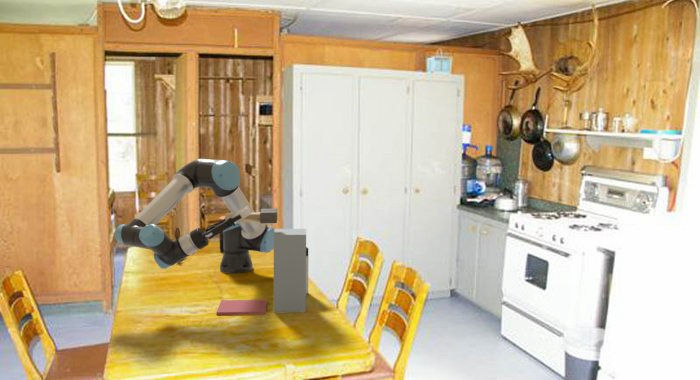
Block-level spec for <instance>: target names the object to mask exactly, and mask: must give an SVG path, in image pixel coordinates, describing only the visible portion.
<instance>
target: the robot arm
mask: <svg viewBox="0 0 700 380" xmlns="http://www.w3.org/2000/svg"><path fill="white" fill-rule="evenodd" d="M240 185H241V170H240V168H239V166H238V165H237V164H236V163H235V162H233V161H231V160H227V159H213V158H212V159H209V158H198V159H195V160H192V161H191V162H189V163H187V164H185V165H184V166H182V167H181V168H180V169H179V170H177V171H176V173H175V174H174V175H173V176H172V180H171V181H170V182H169V183H168V184H167V185H166V186H165V187H164V188H162V190H161V191H160V192H159V193H158V194H157V195H156V196H155V197H154V198H153V199H152V200H151V201H150V202H149V203H148V204H147V205H146V206H145V207H144V208H143V209H142V210H141V211H140V212H139V213H138V214H137V215H136V216H135V217H134V218H133V219H132V220H131V221H130V222H129V223H123V224H119V225H118V226H117V227H116V229H115V232H114V238H115V240H116V242H117V243H119V244H121V245H124V246H126V247H127V246H130V247H136V248H139V249H140V248H141V249H147V250H150V251H152V252H153V259H154V261H155V264H157V266H158V267H159V268H160V269H164V270H166V269H168V268H170V267H172V266H174V265H176V264H177V263H179V262H181V261H183V260H182V259H184V258H186V259H187V257H189V256H191V255H192V256H195V253H196V252H198V251H199V250H202V249H203V248H206V247H207V246H209V242H210V241H209V240H212V239H214V238H215V236H217V235H220V232H222V231H223V247H224V252H223V255H222V257H221V262H220V264H219V270H220V272H221V273H226V274H235V275H236V274H244V273H248V272H250V271H252V270H253V269H254V267H253V265H254V263H253V261H252V257H251V255H250V251H252V252H258V253H262V254H264V253H266V254H267V253H270V252H272V251H274V230H275V229H276V228H274V227H269V226H268V225H267V223H260V222H238V221H240V220H242V219H244V218H245V217H247V216H249V215H251V214H250V213H256V212H255V210H254V209H253V208H252V206H251V203H250V202H249V200H248V199H247V198H246V195H245V194H244V192H243V190H242V189H241V188H240ZM201 187H202V188H209V189H210V190H211V191H212V193H213V195H215V196H216V197H217V198H220V199H222V201H223V202H224V204H225V205H226V207H227V209H228V210H229V213H237V214H236V215H234V216H232V218H229V219H228V220H226V221H225V219H223V220H221V221H220V220H219V221H218V222H215V223H213V224H211V225H209V226H207V227H206V228H205V229H204V230H202V229H201V227H197V228H194V229H193V230H191V231H190V232H187V233H186V234H184V235H182V236H180V238H179V239H177V240H176V239H175V240H173V239H172V238H171V237H169V236H168V234H166V233H165V231H164V230H163V229H162V228H161V227H159V226H158V225H157V224H159V222H160V221H161V220H162V219H163V218H164V217H165V216H166V215H167V214H168V213H169V212H170V211H171V210H172V209H173V208H174V207H175V206H176V205H177V204H178V203H179V201H181V200H182V199H183V198H184V196H186V195H187V194H189V193H192V192H193V191H194V190H195V189H197V188H201ZM234 222H235V223H234Z"/></svg>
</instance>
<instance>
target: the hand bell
mask: <svg viewBox="0 0 700 380" xmlns="http://www.w3.org/2000/svg"><path fill="white" fill-rule="evenodd" d="M180 237H181V230H180V227H178V226H177V227H175V229H174V238H175V240H177V239H179V238H180ZM184 260H187V257H186V258H184V259H182V260H181V261H184Z"/></svg>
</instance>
